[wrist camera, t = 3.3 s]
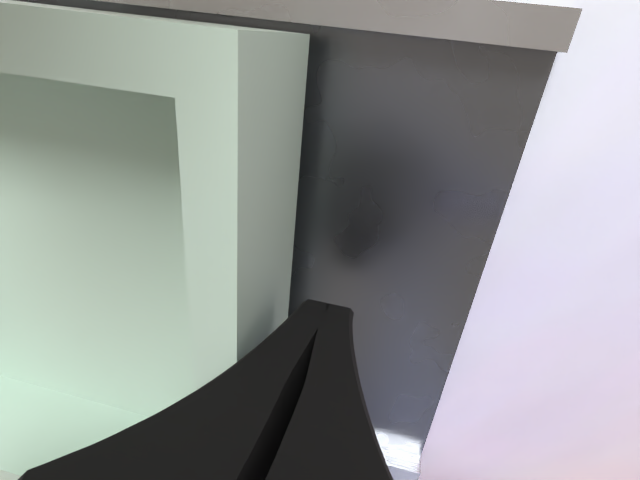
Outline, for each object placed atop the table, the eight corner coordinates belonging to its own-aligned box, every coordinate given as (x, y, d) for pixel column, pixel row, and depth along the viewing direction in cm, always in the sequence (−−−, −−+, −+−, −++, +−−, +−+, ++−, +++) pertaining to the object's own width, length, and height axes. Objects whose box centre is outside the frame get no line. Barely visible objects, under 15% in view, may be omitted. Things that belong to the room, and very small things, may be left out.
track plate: (415, 462, 16) (415, 492, 15) (-137, 314, 20) (-167, 329, 19) (566, 12, 9) (585, 7, 8) (-345, -76, 13) (-412, -86, 12)
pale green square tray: (284, 424, 16) (235, 563, 12) (-11, 345, 18) (-144, 438, 14) (318, 35, 10) (238, 30, 5) (-145, -18, 12) (-468, -52, 7)
